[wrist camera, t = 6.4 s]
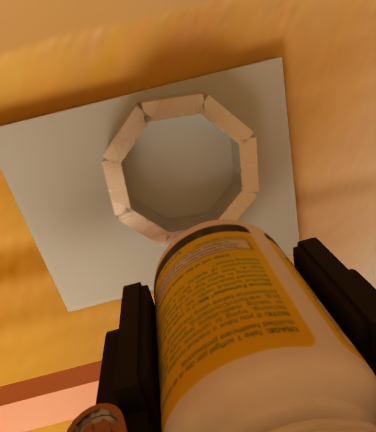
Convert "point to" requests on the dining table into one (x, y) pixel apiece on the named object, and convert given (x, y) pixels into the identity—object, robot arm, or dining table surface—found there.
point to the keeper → (48, 398)
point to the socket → (166, 109)
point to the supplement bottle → (251, 341)
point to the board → (144, 177)
